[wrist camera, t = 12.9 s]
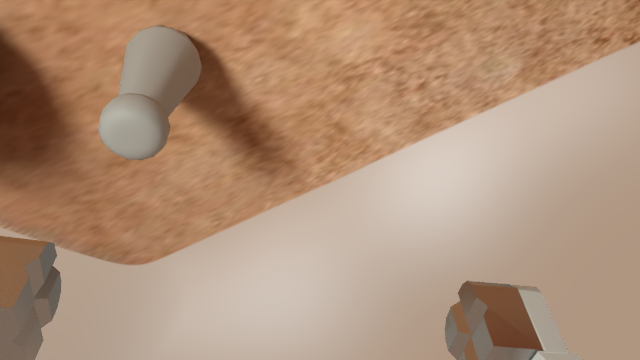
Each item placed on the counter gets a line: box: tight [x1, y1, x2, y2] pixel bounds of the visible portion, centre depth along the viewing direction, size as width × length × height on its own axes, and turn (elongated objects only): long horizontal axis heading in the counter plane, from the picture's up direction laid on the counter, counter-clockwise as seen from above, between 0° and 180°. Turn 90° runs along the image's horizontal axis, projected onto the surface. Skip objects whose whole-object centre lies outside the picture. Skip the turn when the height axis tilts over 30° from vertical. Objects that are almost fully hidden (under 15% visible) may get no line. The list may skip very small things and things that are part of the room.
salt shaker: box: [98, 25, 202, 160], centre depth 39 cm, size 6×6×13 cm
